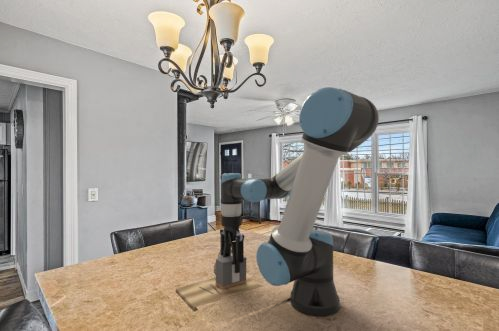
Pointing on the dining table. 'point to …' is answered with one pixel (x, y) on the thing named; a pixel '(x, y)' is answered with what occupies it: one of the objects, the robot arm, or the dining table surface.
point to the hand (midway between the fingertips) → (231, 278)
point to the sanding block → (228, 272)
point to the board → (211, 291)
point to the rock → (218, 258)
